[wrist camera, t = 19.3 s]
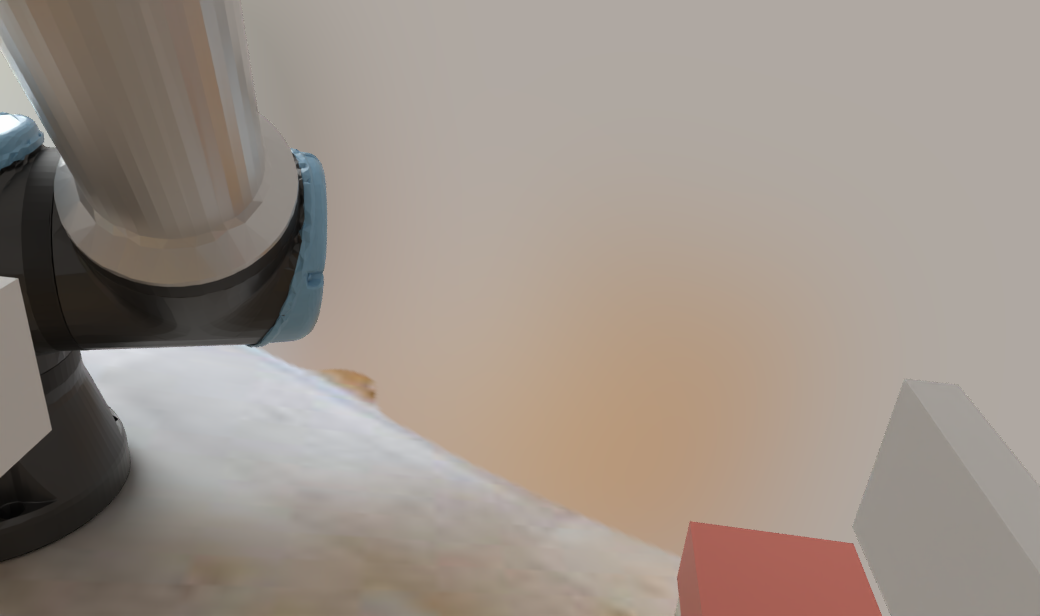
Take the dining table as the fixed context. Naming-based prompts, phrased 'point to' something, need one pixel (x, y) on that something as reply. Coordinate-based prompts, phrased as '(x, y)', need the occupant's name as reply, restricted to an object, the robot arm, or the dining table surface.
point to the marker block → (769, 575)
